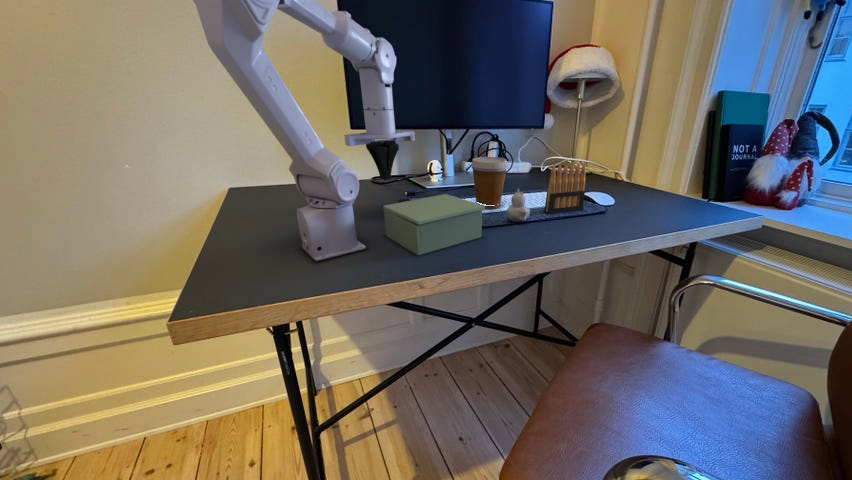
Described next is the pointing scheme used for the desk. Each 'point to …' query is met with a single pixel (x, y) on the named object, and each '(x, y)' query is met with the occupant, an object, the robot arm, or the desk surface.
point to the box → (433, 231)
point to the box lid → (433, 208)
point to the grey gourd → (518, 208)
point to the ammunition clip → (566, 189)
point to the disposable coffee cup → (489, 180)
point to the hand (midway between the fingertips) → (385, 178)
